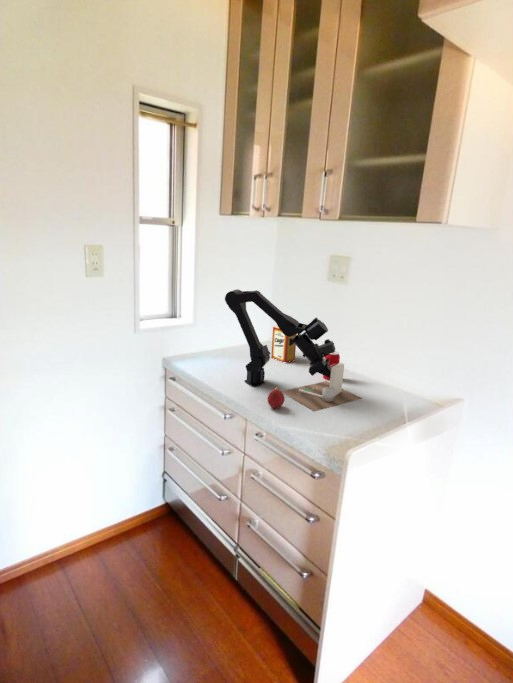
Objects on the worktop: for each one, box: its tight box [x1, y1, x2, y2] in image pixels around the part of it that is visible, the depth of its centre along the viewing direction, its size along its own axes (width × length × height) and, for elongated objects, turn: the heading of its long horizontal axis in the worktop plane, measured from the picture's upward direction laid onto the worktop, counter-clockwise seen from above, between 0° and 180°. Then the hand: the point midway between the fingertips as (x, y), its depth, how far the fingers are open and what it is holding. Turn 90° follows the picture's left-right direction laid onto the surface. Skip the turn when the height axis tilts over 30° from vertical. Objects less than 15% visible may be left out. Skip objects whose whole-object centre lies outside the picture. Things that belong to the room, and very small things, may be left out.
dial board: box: [280, 380, 363, 412], centre depth 156 cm, size 24×20×1 cm
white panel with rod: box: [299, 362, 345, 402], centre depth 156 cm, size 13×14×12 cm
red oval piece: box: [267, 386, 285, 409], centre depth 143 cm, size 6×6×8 cm
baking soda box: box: [270, 325, 298, 363], centre depth 196 cm, size 10×6×16 cm
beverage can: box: [322, 350, 341, 382], centre depth 173 cm, size 6×6×12 cm
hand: (334, 378), depth 156 cm, fingers closed
